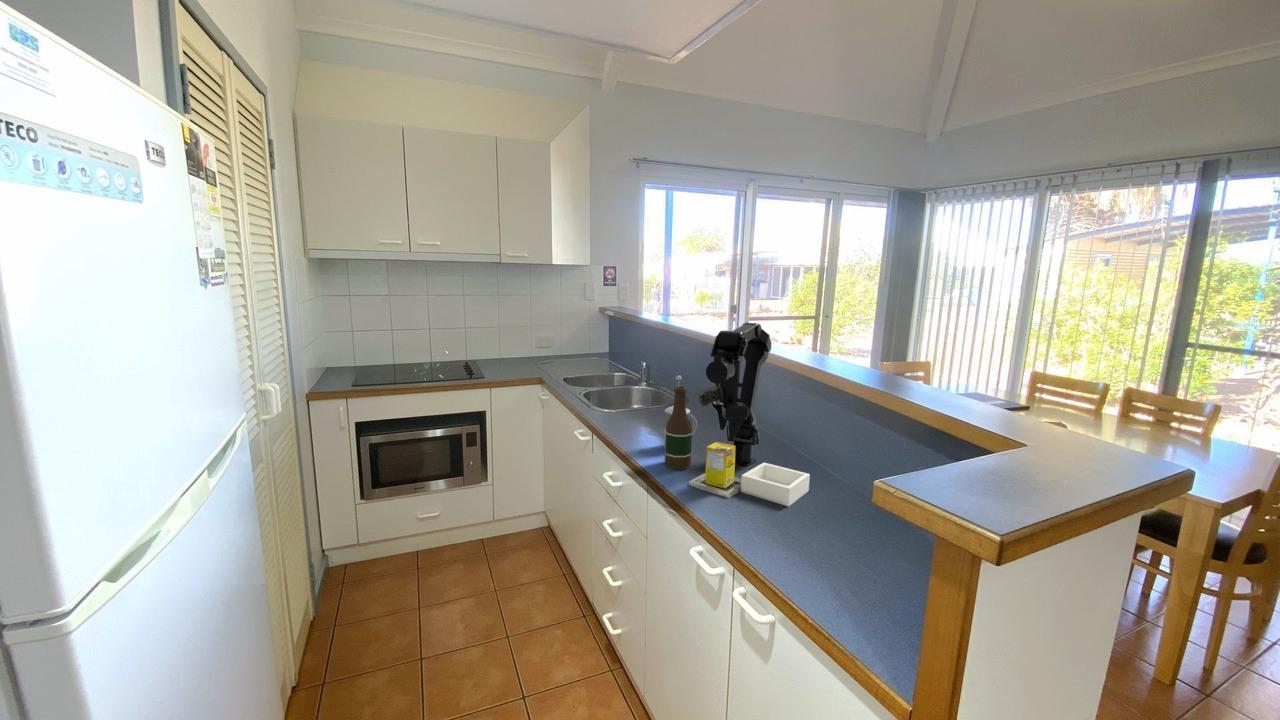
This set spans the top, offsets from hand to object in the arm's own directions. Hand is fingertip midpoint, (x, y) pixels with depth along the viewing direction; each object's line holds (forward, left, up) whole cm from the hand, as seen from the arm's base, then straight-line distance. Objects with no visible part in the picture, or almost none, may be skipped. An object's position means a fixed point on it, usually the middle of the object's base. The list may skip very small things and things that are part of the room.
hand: (726, 434), depth 138 cm
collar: (+4, +1, -13) cm, 14 cm away
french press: (-11, -23, -13) cm, 29 cm away
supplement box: (+4, +1, -13) cm, 14 cm away
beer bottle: (+1, -15, -13) cm, 20 cm away
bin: (-2, +14, -13) cm, 19 cm away
